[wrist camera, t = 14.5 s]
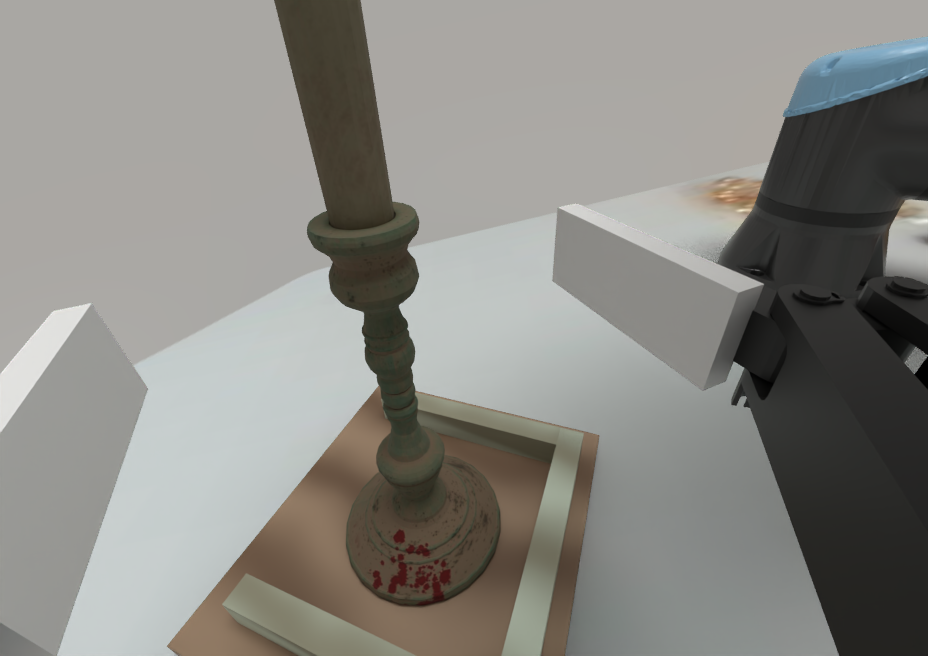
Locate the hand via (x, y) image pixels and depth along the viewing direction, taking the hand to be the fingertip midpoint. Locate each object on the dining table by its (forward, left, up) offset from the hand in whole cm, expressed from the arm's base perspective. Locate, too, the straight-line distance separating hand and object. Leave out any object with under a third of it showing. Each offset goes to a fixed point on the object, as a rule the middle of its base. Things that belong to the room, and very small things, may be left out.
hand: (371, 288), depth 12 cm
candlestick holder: (-2, -2, -17) cm, 18 cm away
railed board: (-2, -2, -19) cm, 19 cm away
